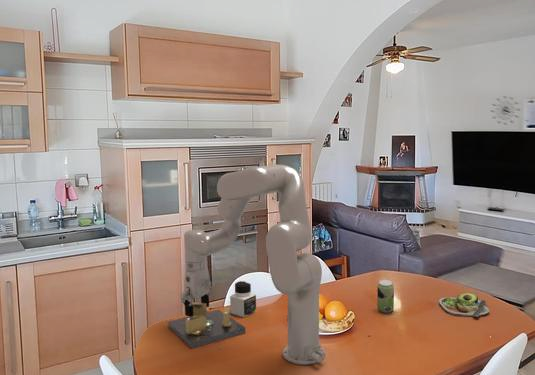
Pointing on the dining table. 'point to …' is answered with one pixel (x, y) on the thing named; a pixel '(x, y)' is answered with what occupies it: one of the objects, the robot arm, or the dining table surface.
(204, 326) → the knob
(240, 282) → the medicine bottle
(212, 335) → the plate
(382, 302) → the beverage can
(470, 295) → the salad plate
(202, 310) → the olive open box
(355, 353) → the dining table surface
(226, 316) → the knob
